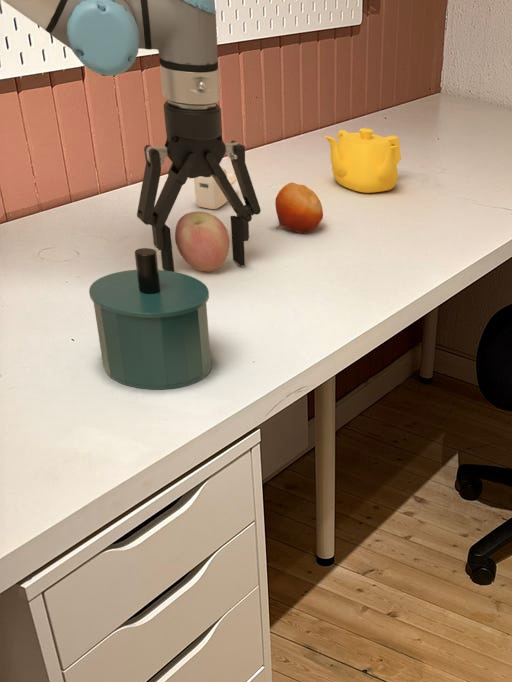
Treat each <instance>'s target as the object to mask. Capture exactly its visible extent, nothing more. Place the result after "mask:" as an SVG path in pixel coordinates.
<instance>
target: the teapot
mask: <svg viewBox="0 0 512 682" xmlns="http://www.w3.org/2000/svg"><path fill="white" fill-rule="evenodd" d="M323 137H324V138H325V139H326V140H327V142H328V143H329V147H330V164H331V172H332V175H333V177H334V179H335V181H336V182H337V183H338V184H339V185H341V186H343V187H345V188H346V189H349V190H352V191H355V192H360V193H368V194H369V193H380V192H386V191H390V190H392V189H393V188H394V187H395V186H396V184H397V182H398V180H399V179H398V178H399V177H398V176H399V173H398V164H399V163H400V161H402V154H401V146H400V137H398V136H396V135H388V136H385V137H383V136H381V135H378V134H375V133H374V130H373V129H371V128H367V127H361V128H359V132H358V131H357V132H349V131H347V130H345V129H340V130H339V131H337V140H336V139H335V138H334V137H331V136H326V135H324V136H323Z"/></svg>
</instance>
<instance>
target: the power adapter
mask: <svg viewBox="0 0 512 682" xmlns="http://www.w3.org/2000/svg"><path fill="white" fill-rule="evenodd" d="M221 168H222V170H223V171H224V173H225V174H226V176H227V179H228V181H229V182H230V184H231V185H232V186H233V185H234V184H235V183H236V182H237V178H236V175H235V172H230V171H227V170H226V168H225V167H222V166H221ZM193 183H194V195H195V204H196V205H197V206H198V207H200V208H204V209H209V210H217V209H220V208H221V207H222V206H223V205H225V204H227V203H228V200H227V199H226V197H225V195H224V194H223V192H222V191H221V189H220V188H219V186H218V184H217V183H216V181H215V180H214V178H213V177H212V176H211V177H202V176H199V177H197V178H193Z"/></svg>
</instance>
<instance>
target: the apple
mask: <svg viewBox="0 0 512 682" xmlns="http://www.w3.org/2000/svg"><path fill="white" fill-rule="evenodd" d="M174 240H175V245H176V248H177V250H178V253H179V254H180V256H181V257H182V259H183V260H184V261H185V262H186V263H187V264H188V265H189V266H191V267H193V268H194V269H196V270H197V271H201V272H213V271H216V270H218V268H220V267H222V266H223V264H224V263H225V262H226V260H227V258H228V256H229V253H230V247H231V246H230V236H229V233H228V230H227V227H226V226H225V225H224V223H223V221H221V219H219V218H218V217H217V216H216V215H214V214H213V213H210V212H206V211H191V212H188V213H185V214H183V216H181V217H180V218H179V219H178V221H177V223H176V226H175V229H174Z"/></svg>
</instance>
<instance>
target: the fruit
mask: <svg viewBox="0 0 512 682" xmlns="http://www.w3.org/2000/svg"><path fill="white" fill-rule="evenodd" d="M274 203H275V211H276V216H277V220H278V225H277V226H276V227H275V229H276V230H277V229H279V228H281V227H284V228H286V229H288V230H289V231H292V232H296V233H300V234H307V233H310V232H312V231H313V230H314V229H315V228H316V227H318V226H319V225H320V223H321V221H322V220H323V218H324V210H323V205H322V203H321V200H320V198H319V197H318V195H317V194H316V193H315V192H314V190H313V189H310V188H309V187H308V186H306V185H304V184H299V183H295V182H289V183H287V184H285V185H284V186H283V187H282V188H281V189H280V190H279V191H278V193H277V195H276V197H275V202H274Z"/></svg>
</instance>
